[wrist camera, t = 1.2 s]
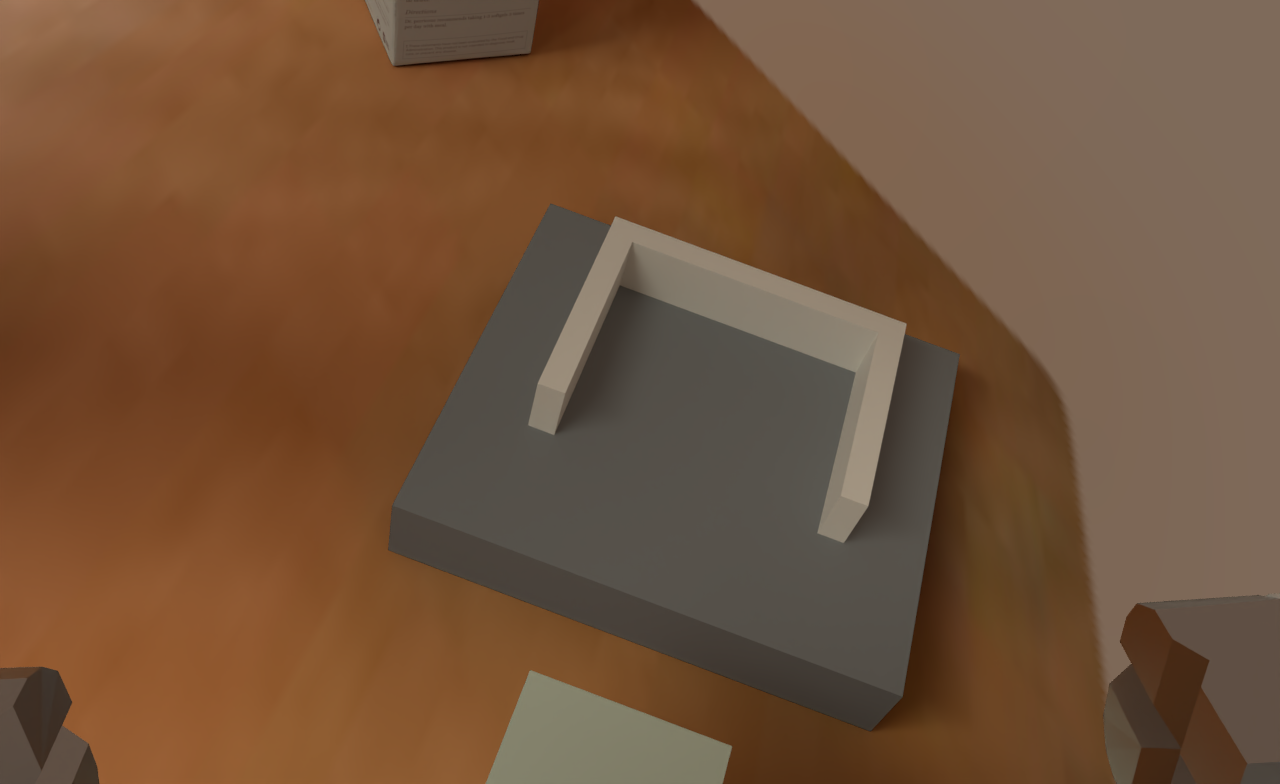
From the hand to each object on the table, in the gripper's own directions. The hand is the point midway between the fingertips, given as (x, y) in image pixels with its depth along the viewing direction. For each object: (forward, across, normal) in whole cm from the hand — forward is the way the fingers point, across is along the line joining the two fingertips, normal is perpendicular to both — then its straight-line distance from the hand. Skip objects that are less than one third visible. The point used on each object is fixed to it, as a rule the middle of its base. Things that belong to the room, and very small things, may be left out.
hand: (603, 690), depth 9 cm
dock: (+32, -3, +21) cm, 38 cm away
